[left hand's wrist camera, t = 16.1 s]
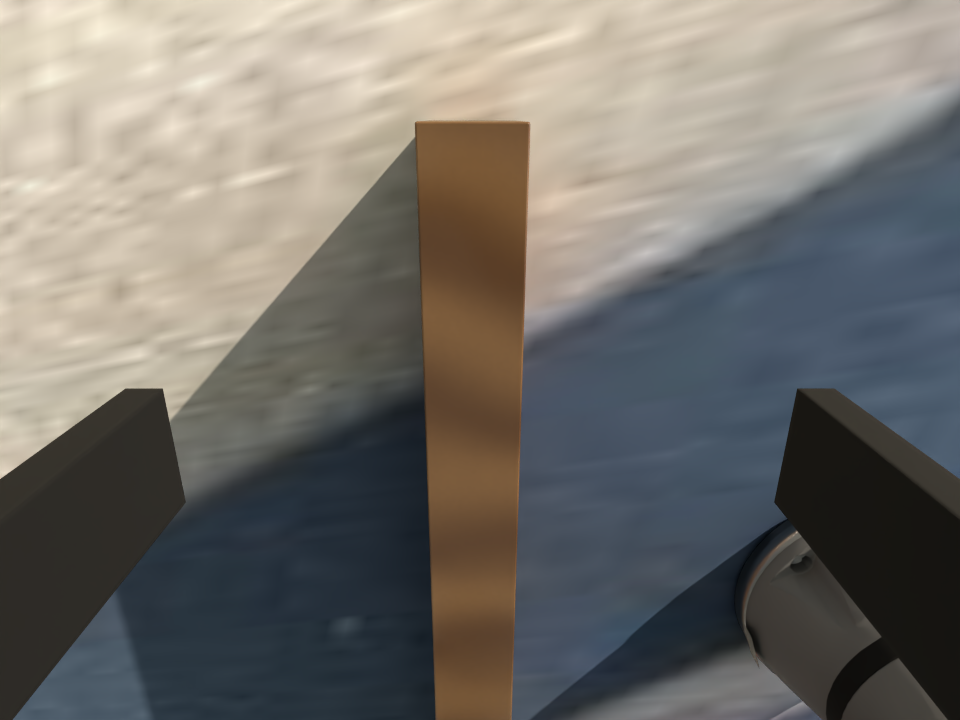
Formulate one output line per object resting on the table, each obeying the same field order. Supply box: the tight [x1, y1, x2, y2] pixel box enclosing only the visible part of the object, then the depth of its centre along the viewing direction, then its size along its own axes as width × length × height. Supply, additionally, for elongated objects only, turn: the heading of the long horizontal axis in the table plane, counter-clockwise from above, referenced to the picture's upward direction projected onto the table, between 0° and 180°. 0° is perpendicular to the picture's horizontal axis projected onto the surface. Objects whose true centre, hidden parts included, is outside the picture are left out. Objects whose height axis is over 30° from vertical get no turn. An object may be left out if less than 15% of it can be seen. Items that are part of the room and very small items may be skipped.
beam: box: [415, 121, 530, 720], centre depth 41 cm, size 71×5×8 cm, turn 0°
